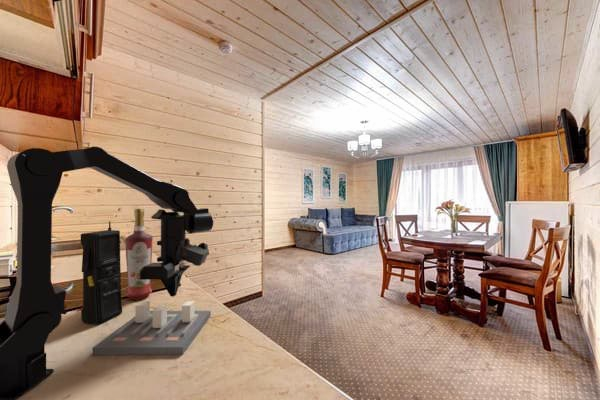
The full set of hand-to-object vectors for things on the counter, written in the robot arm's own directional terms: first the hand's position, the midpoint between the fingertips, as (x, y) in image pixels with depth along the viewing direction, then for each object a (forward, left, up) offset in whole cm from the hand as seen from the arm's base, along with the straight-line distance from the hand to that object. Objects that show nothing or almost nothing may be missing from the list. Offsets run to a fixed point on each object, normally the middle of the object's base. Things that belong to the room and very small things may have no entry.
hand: (173, 295), depth 64 cm
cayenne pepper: (-28, +11, -7) cm, 31 cm away
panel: (0, -6, -6) cm, 9 cm away
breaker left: (-5, -4, -4) cm, 8 cm away
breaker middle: (0, -6, -4) cm, 8 cm away
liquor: (-18, +15, -6) cm, 24 cm away
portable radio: (-19, +1, -6) cm, 20 cm away
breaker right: (+6, -4, -4) cm, 8 cm away
